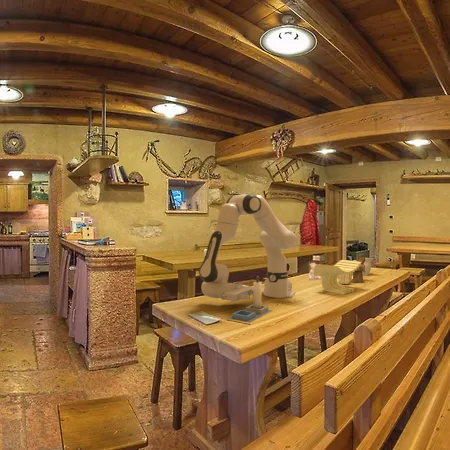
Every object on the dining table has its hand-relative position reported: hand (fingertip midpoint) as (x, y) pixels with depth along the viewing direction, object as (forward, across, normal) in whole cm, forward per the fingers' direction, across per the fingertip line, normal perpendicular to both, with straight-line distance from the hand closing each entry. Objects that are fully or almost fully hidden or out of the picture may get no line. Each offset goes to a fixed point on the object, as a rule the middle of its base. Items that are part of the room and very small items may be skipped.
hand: (253, 295), depth 181 cm
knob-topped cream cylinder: (+2, 0, +7) cm, 8 cm away
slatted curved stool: (+20, +76, +9) cm, 79 cm away
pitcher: (+20, +148, +9) cm, 149 cm away
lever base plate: (+2, -7, +8) cm, 11 cm away
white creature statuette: (-6, +105, +9) cm, 106 cm away
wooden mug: (+24, +116, +9) cm, 118 cm away
